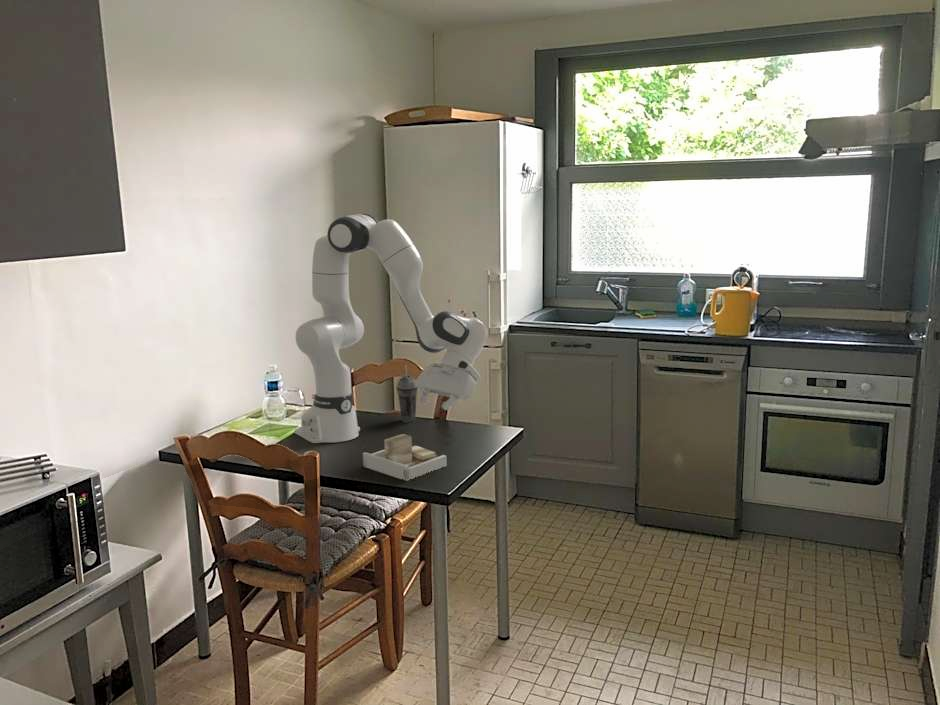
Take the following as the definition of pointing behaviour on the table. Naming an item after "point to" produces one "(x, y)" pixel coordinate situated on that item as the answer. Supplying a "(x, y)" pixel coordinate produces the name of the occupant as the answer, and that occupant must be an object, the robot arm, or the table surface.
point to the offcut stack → (421, 455)
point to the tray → (401, 465)
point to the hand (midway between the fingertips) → (432, 406)
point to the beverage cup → (407, 397)
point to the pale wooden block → (399, 449)
